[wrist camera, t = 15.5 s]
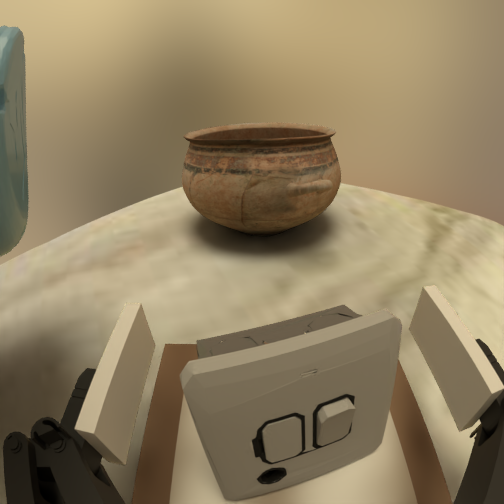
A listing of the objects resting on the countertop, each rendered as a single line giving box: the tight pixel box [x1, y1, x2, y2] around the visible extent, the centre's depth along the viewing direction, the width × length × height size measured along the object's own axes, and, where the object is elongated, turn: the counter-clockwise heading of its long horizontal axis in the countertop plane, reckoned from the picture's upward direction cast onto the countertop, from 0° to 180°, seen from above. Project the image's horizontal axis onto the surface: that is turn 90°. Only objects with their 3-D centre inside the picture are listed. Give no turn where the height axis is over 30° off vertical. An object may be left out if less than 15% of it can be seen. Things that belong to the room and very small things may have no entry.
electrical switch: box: [180, 305, 402, 500], centre depth 12 cm, size 8×5×8 cm, turn 106°
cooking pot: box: [182, 123, 341, 236], centre depth 36 cm, size 25×19×12 cm
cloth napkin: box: [132, 342, 452, 504], centre depth 13 cm, size 16×16×1 cm
